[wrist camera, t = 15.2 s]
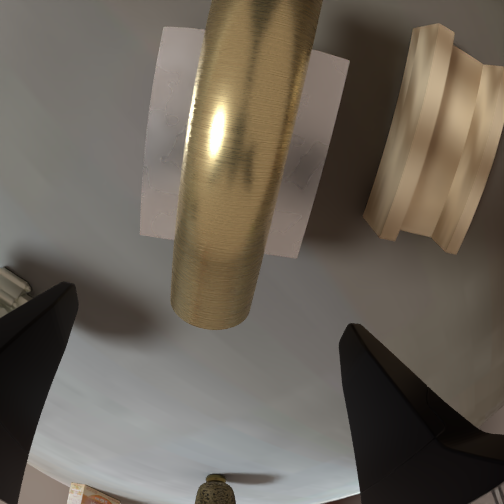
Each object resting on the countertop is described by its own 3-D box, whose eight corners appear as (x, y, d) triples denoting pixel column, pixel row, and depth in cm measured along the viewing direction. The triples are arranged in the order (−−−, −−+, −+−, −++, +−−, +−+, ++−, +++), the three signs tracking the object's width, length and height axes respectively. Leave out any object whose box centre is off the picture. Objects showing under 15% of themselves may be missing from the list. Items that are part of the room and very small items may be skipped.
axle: (231, -33, 9) (220, -70, 6) (320, -17, 10) (340, -50, 6) (180, 271, 17) (161, 320, 14) (251, 285, 17) (248, 336, 14)
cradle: (185, 42, 15) (163, 26, 10) (320, 66, 16) (350, 60, 11) (163, 196, 20) (139, 234, 15) (283, 215, 21) (296, 258, 16)
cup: (230, 483, 48) (230, 518, 41) (192, 478, 46) (190, 514, 39) (241, 472, 44) (242, 512, 37) (199, 467, 43) (198, 508, 36)
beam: (412, 28, 14) (439, 23, 11) (485, 71, 15) (513, 74, 12) (362, 216, 21) (379, 238, 18) (435, 234, 22) (456, 254, 19)
